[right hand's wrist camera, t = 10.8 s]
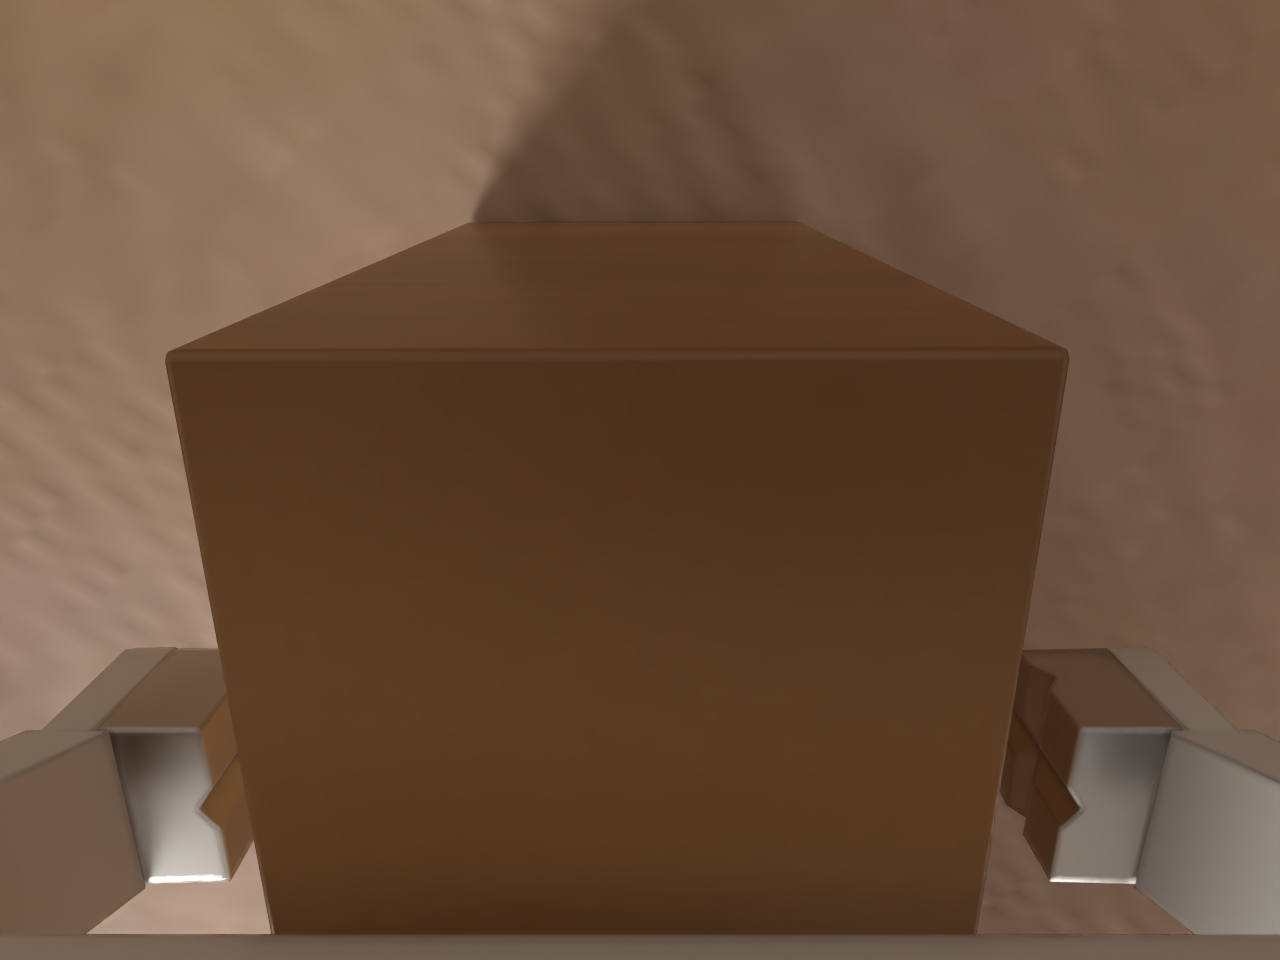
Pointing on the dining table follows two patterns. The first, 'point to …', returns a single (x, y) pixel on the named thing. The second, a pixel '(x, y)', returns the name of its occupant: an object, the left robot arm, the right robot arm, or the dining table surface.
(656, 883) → the beam
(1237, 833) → the right robot arm
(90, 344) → the dining table surface
